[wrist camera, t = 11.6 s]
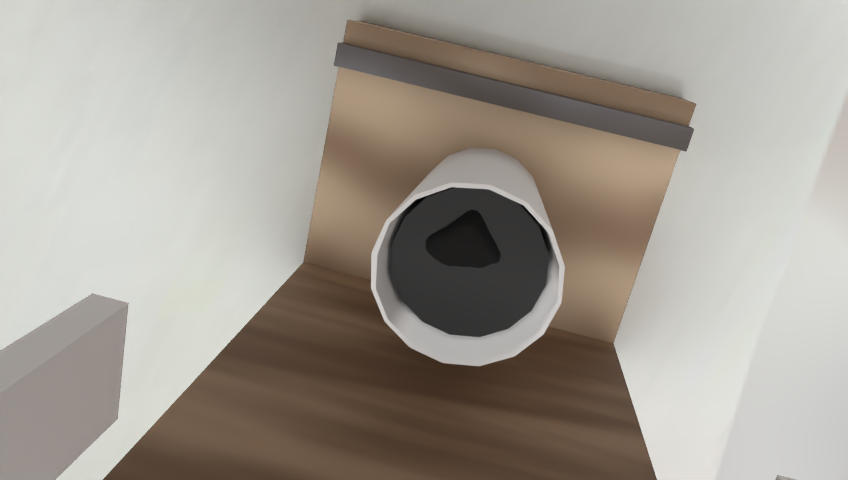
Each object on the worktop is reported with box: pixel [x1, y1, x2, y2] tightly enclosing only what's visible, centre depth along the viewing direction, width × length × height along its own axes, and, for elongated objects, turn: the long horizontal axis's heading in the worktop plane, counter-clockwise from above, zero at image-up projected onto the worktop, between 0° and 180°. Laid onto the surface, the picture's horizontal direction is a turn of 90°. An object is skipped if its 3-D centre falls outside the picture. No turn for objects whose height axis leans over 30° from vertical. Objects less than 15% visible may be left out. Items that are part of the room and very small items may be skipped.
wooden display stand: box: [103, 20, 696, 480], centre depth 24 cm, size 14×16×24 cm
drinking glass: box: [371, 148, 565, 366], centre depth 28 cm, size 7×7×10 cm
